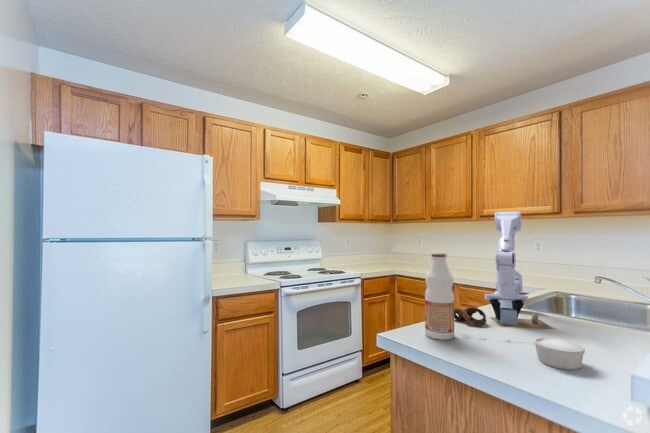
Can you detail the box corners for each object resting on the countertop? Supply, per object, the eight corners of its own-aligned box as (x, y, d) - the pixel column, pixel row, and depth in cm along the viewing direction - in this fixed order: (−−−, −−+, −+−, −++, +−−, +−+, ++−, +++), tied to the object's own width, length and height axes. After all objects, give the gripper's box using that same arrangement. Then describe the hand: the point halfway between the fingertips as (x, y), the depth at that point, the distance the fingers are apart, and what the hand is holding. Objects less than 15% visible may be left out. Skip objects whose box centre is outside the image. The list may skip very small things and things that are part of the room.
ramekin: (537, 351, 95) (536, 334, 96) (585, 362, 88) (584, 342, 89) (532, 364, 87) (531, 344, 87) (585, 376, 80) (584, 355, 80)
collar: (501, 323, 118) (501, 310, 118) (496, 319, 123) (495, 306, 123) (517, 324, 117) (517, 310, 117) (511, 320, 122) (511, 307, 122)
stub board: (500, 330, 115) (500, 316, 115) (489, 321, 126) (489, 308, 127) (556, 333, 112) (555, 319, 112) (539, 323, 124) (538, 310, 124)
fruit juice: (437, 342, 103) (437, 255, 104) (419, 332, 112) (419, 252, 113) (460, 338, 106) (459, 254, 107) (441, 330, 115) (440, 252, 116)
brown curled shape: (483, 325, 123) (489, 309, 119) (481, 343, 115) (487, 326, 111) (450, 313, 128) (455, 298, 124) (446, 330, 120) (451, 314, 116)
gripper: (488, 284, 118) (489, 321, 117) (531, 285, 115) (532, 323, 115) (482, 281, 125) (483, 316, 124) (523, 282, 122) (523, 318, 122)
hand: (506, 319), depth 120 cm, fingers closed on collar, 5 cm apart
